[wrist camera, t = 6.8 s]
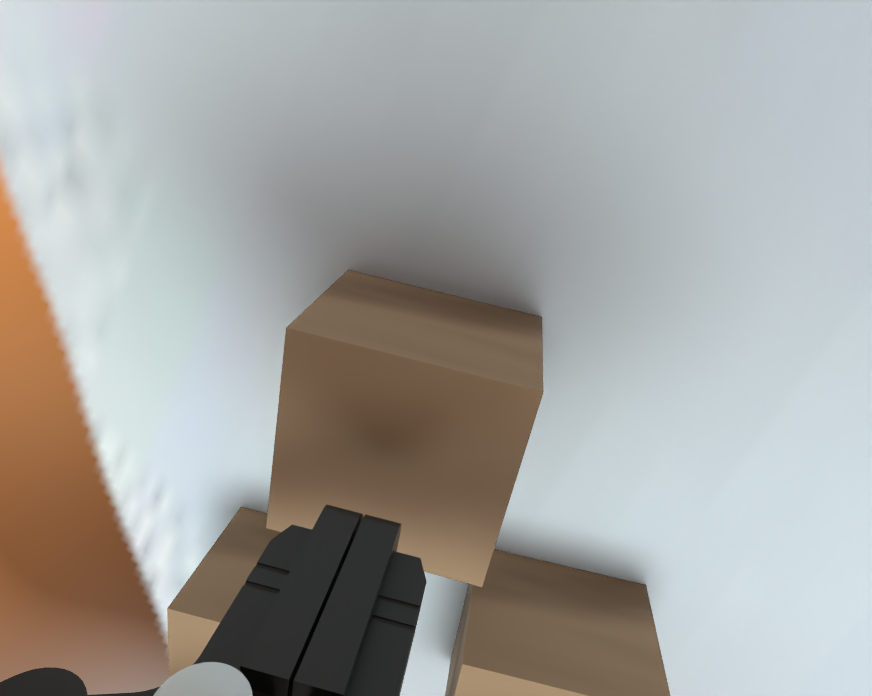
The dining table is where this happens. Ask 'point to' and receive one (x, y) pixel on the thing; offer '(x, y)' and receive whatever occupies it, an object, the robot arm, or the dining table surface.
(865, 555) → the dining table surface
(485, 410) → the plain walnut block
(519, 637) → the marked walnut block bar
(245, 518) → the cube with circle marking
